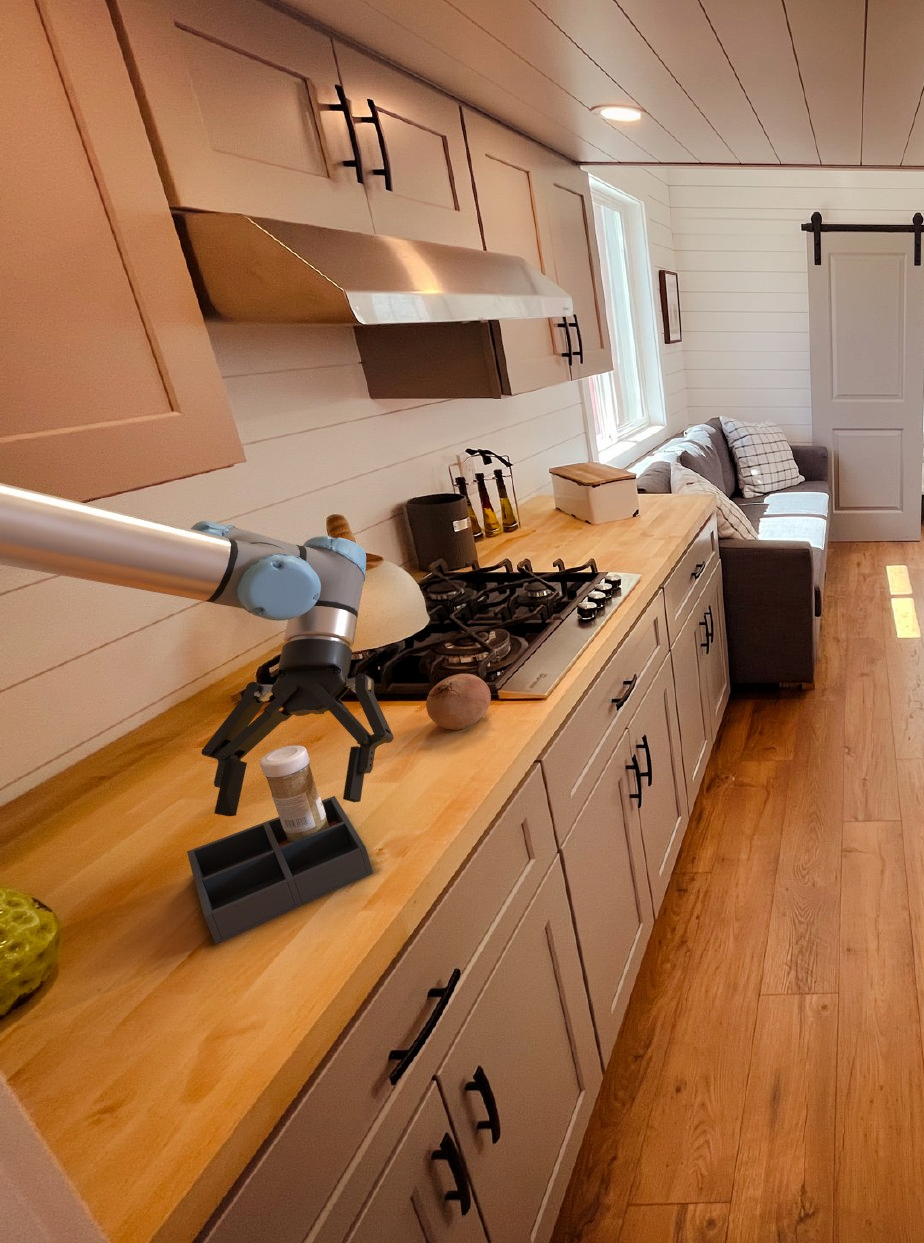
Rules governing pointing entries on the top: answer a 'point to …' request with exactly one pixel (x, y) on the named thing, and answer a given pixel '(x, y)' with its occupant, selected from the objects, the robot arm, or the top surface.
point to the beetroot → (458, 701)
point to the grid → (274, 871)
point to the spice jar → (294, 791)
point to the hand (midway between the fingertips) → (289, 807)
